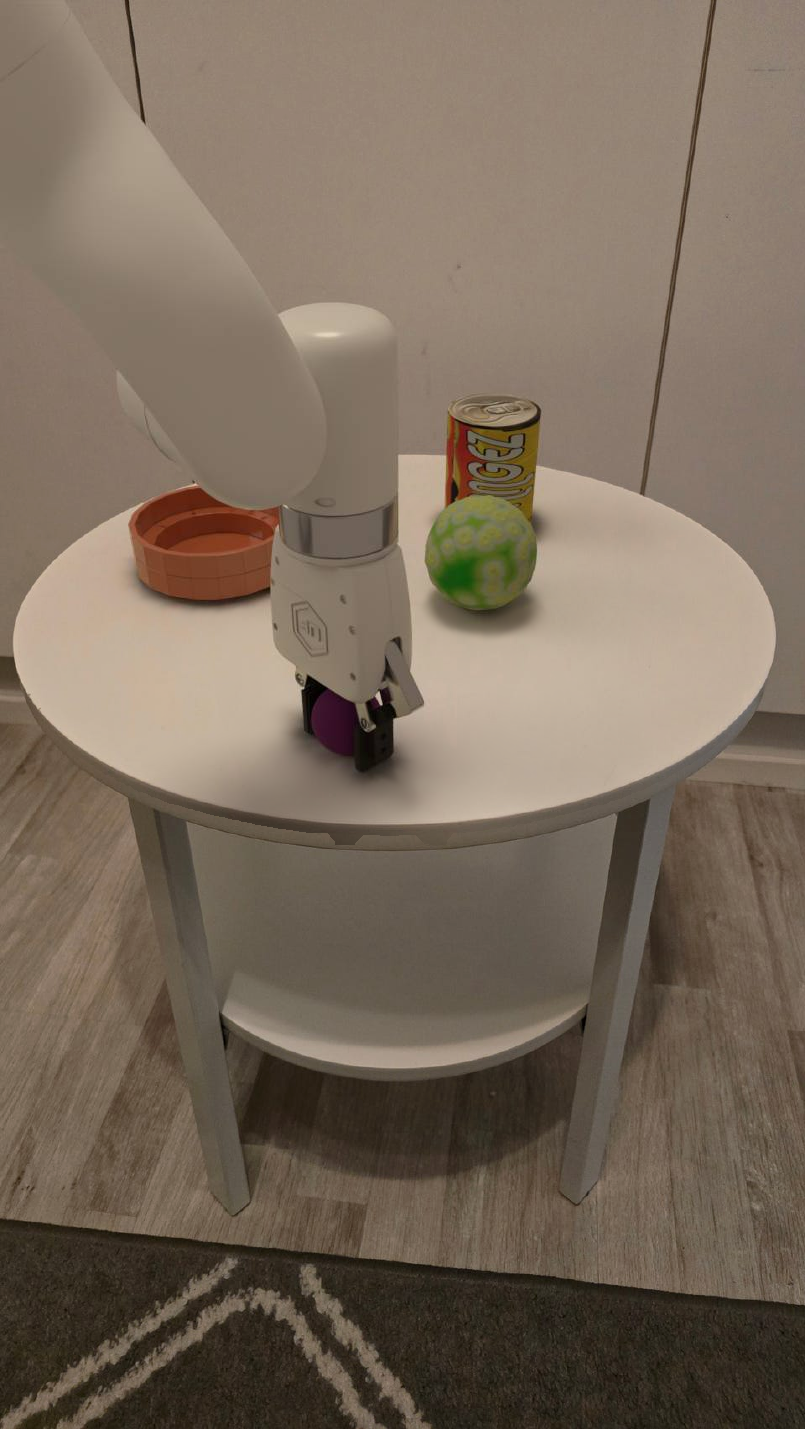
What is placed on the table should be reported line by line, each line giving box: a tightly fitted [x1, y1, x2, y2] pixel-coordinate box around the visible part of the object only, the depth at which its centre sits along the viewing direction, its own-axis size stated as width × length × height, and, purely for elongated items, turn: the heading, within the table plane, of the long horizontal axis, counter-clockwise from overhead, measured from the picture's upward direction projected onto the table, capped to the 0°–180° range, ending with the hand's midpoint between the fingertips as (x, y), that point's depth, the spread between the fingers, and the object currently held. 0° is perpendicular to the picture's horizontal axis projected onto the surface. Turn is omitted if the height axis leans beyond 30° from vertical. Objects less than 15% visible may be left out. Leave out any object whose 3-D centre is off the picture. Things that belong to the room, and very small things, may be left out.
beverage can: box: [444, 393, 542, 525], centre depth 98 cm, size 9×9×12 cm
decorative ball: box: [424, 495, 538, 611], centre depth 86 cm, size 10×10×10 cm
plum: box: [311, 688, 381, 756], centre depth 71 cm, size 5×5×5 cm
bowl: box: [127, 485, 279, 601], centre depth 93 cm, size 15×15×5 cm
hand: (348, 741), depth 72 cm, fingers closed on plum, 5 cm apart
